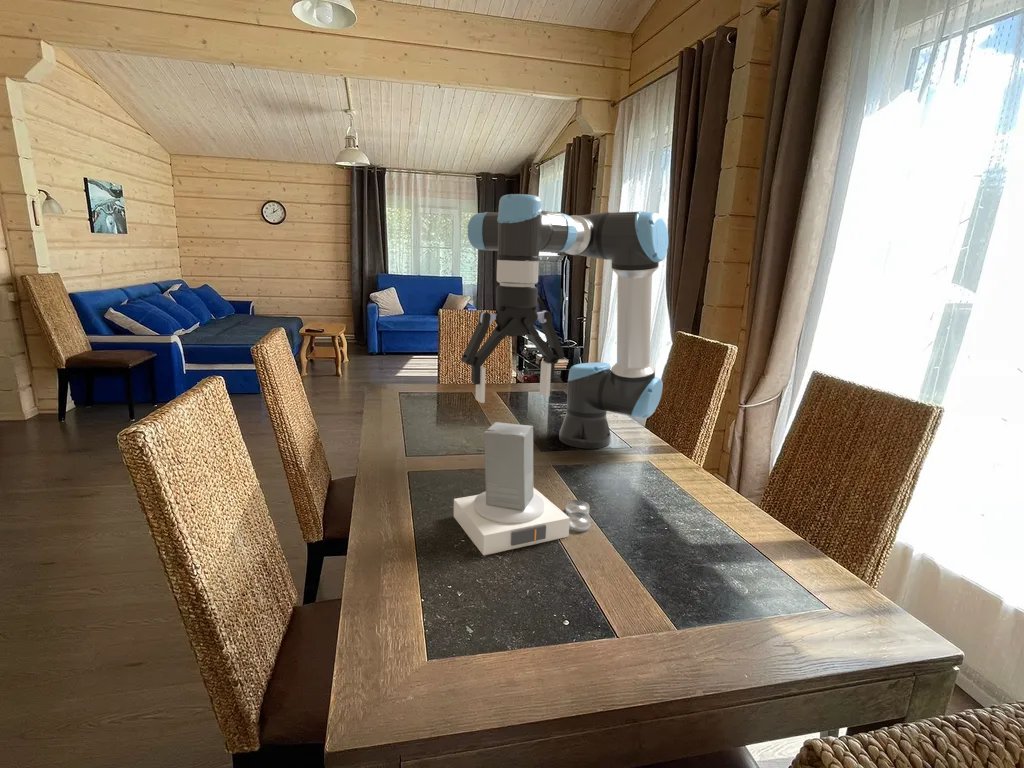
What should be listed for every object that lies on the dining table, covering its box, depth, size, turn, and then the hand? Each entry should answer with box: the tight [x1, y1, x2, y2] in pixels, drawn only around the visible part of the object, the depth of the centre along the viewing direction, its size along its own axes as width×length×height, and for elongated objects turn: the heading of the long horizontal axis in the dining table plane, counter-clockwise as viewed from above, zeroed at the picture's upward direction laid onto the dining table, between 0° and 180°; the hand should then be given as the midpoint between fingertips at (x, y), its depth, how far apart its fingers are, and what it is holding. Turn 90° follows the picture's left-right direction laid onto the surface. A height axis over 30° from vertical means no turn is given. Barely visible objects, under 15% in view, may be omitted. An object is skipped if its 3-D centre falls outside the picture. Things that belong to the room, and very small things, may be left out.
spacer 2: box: [566, 512, 592, 533], centre depth 110 cm, size 5×5×2 cm
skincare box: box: [483, 421, 534, 510], centre depth 107 cm, size 8×7×16 cm
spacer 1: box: [565, 499, 591, 516], centre depth 116 cm, size 5×5×2 cm
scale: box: [453, 486, 570, 556], centre depth 109 cm, size 18×17×5 cm
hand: (513, 398), depth 104 cm, fingers open, 13 cm apart
